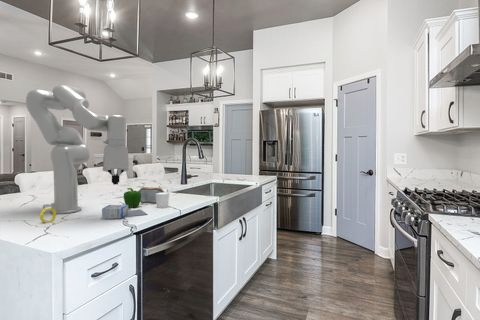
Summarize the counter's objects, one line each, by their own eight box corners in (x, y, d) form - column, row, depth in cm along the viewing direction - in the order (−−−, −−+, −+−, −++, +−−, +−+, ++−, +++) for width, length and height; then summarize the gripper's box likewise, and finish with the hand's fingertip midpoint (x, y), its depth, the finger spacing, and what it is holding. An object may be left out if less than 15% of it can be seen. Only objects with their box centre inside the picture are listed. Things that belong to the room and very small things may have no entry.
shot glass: (171, 205, 151) (171, 192, 151) (164, 208, 145) (164, 194, 144) (160, 205, 153) (160, 191, 153) (152, 207, 147) (152, 193, 147)
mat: (108, 219, 122) (108, 218, 122) (104, 213, 133) (104, 213, 133) (147, 214, 131) (147, 214, 131) (140, 209, 141) (140, 209, 141)
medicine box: (108, 204, 130) (128, 204, 131) (108, 214, 130) (128, 214, 131) (101, 208, 122) (122, 208, 123) (101, 219, 122) (122, 218, 123)
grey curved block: (165, 202, 161) (165, 187, 160) (163, 203, 157) (162, 188, 157) (139, 202, 162) (138, 187, 162) (136, 203, 159) (136, 187, 159)
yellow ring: (44, 224, 115) (42, 210, 115) (39, 224, 116) (37, 209, 116) (57, 220, 121) (56, 206, 120) (53, 219, 122) (51, 205, 121)
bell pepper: (140, 204, 154) (140, 186, 154) (142, 207, 147) (141, 188, 146) (123, 206, 151) (123, 186, 150) (124, 209, 143) (124, 189, 143)
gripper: (98, 142, 121) (98, 186, 122) (135, 143, 129) (134, 184, 130) (96, 142, 128) (95, 183, 129) (131, 143, 136) (130, 182, 137)
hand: (115, 184), depth 130 cm, fingers closed
